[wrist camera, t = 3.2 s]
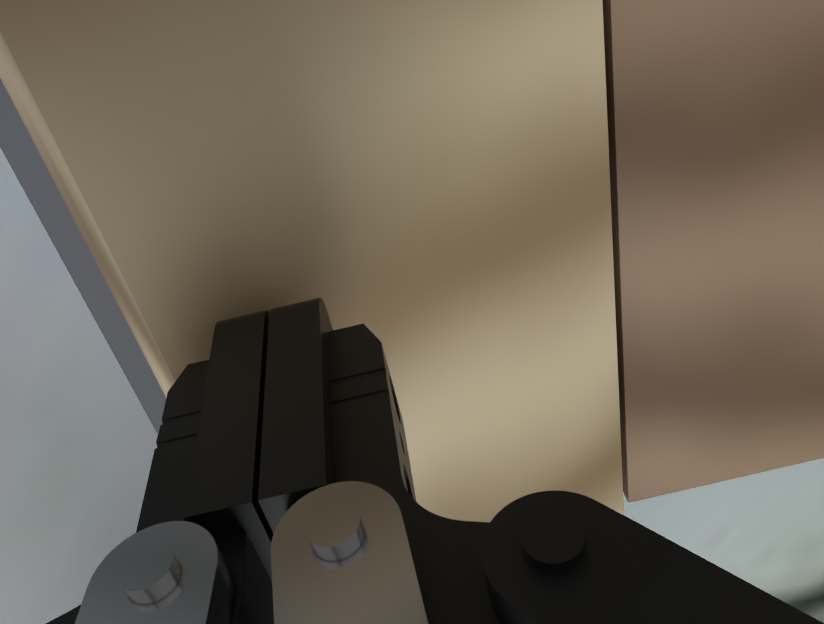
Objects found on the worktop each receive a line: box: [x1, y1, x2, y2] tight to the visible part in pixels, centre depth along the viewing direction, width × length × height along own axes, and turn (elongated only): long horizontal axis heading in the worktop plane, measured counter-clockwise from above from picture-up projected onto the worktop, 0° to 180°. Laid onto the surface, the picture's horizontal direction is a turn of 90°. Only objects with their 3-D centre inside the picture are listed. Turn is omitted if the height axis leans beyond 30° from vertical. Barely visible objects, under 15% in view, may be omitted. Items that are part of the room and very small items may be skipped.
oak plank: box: [0, 0, 624, 522], centre depth 13 cm, size 22×9×2 cm, turn 11°
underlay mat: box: [0, 78, 166, 433], centre depth 16 cm, size 26×22×1 cm
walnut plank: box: [602, 0, 824, 502], centre depth 15 cm, size 22×9×2 cm, turn 11°
